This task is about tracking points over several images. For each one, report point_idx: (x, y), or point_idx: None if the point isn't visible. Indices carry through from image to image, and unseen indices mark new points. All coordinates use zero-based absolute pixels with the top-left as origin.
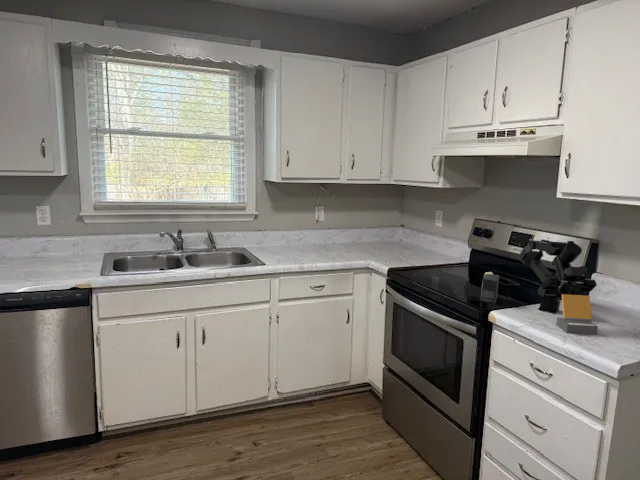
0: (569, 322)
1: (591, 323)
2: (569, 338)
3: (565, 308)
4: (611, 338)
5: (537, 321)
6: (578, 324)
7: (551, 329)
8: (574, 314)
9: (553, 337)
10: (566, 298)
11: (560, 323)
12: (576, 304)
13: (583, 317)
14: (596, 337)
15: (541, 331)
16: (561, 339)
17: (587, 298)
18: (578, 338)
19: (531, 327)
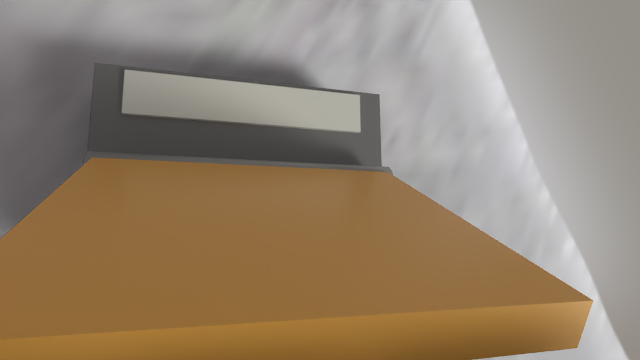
0: (335, 155)
1: (112, 146)
2: (382, 18)
3: (417, 202)
4: (29, 8)
5: None
6: (287, 94)
7: (429, 170)
8: (299, 177)
9: (470, 35)
10: (481, 260)
11: None
12: (289, 223)
13: (195, 164)
14: (164, 31)
15: (502, 127)
16: (437, 5)
17: (15, 292)
18: (322, 16)
19: (536, 192)
